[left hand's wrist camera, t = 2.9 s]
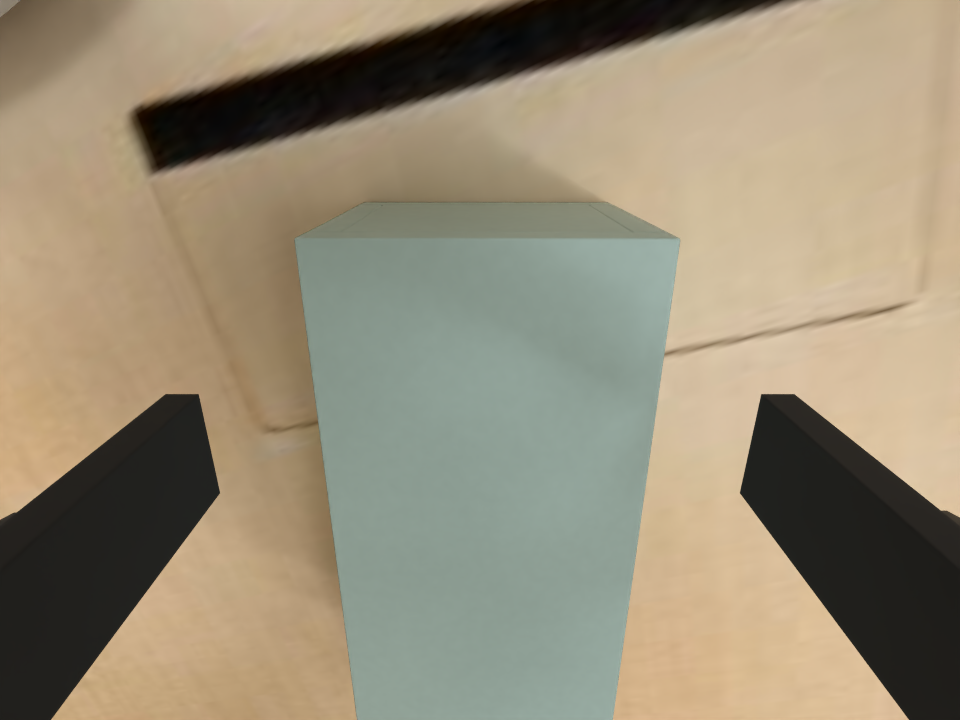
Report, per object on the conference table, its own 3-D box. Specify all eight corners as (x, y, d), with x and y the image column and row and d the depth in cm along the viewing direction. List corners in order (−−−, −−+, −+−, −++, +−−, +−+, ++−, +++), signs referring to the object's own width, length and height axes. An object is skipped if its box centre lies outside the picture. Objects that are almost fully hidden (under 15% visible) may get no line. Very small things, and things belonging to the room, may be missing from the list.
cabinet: (574, 589, 31) (608, 754, 23) (393, 588, 31) (360, 753, 23) (608, 202, 23) (681, 238, 15) (362, 202, 23) (293, 238, 15)
